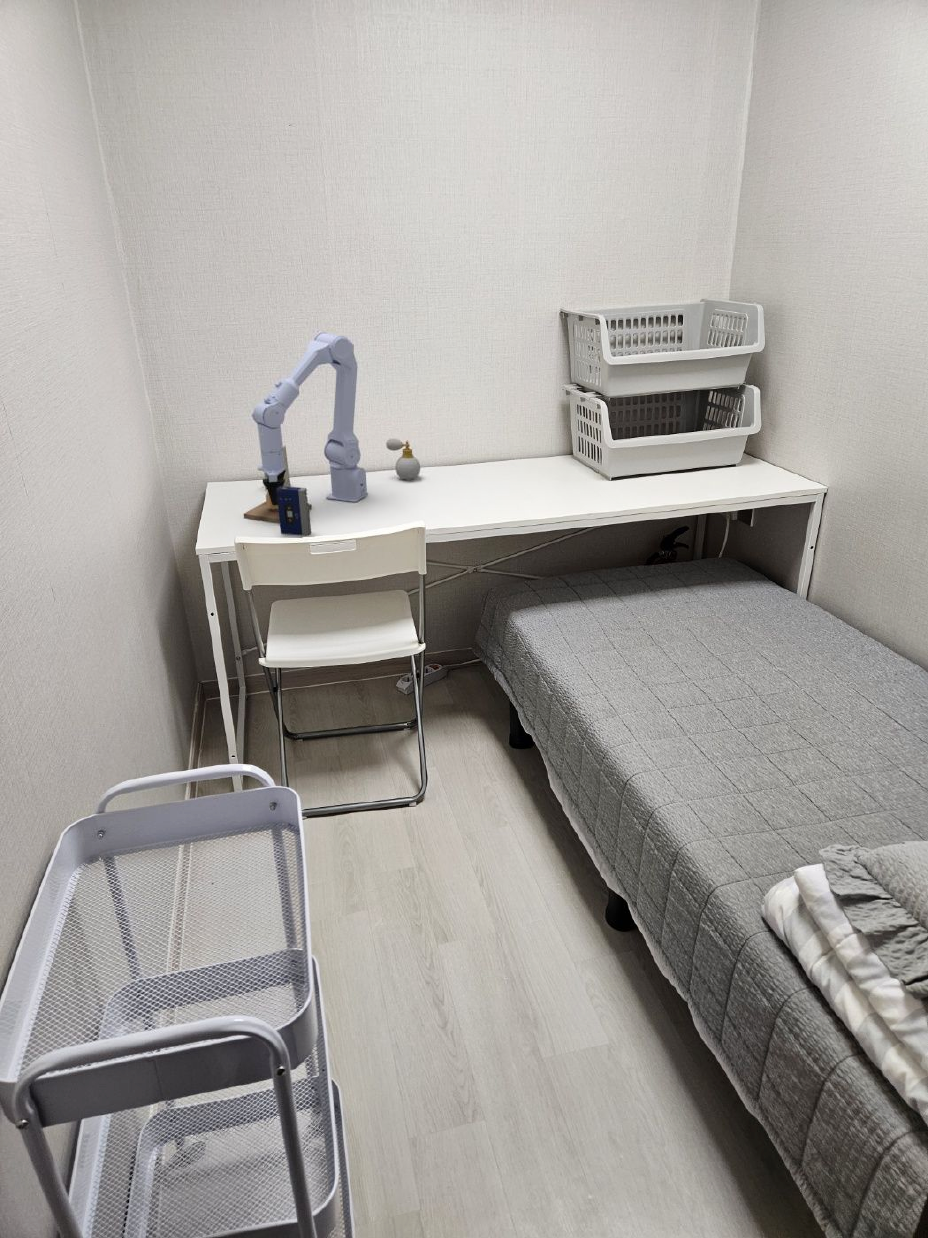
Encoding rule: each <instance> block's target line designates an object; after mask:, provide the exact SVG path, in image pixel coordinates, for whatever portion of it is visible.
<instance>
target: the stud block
mask: <svg viewBox="0 0 928 1238" xmlns="http://www.w3.org/2000/svg"><path fill="white" fill-rule="evenodd" d="M311 510H313V506H312V503H311V504H310V503H309V511H311ZM243 519H247V520H253V521H260V520H262V521H261V522H269V523H274V524H275V523H276V524H280V519H279V510H278V509H270V508H269V507H267V503H266V501H264V502H263V503H261V504H259V505H257V506H255V507H253V508H251V509H250V510H248V511H246V512H244V513H243Z"/></svg>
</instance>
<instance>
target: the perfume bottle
mask: <svg viewBox="0 0 928 1238" xmlns="http://www.w3.org/2000/svg"><path fill="white" fill-rule="evenodd" d="M385 444H386V448H387V449H388V450H390V451H395V452H396V451H399V450H401V449H402V456H400V457H399V458H398V460H396V463H395V472H396V475H397V476H398V477H399V478H400V479H402V480H404V479H405V481H411V479H412V480H414V479H416V478H417V477H418V476H419V474H420V473H421V464H420V461H419V460H418V458H417V457H415V456H414V454H413V449H412V448H410V446H411V445H410V443H409V440H406V441H405V443H403V441H401V440H400V439H398V438H389V439H388V440H387V442H386V443H385ZM404 447H405V448H404Z"/></svg>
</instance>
